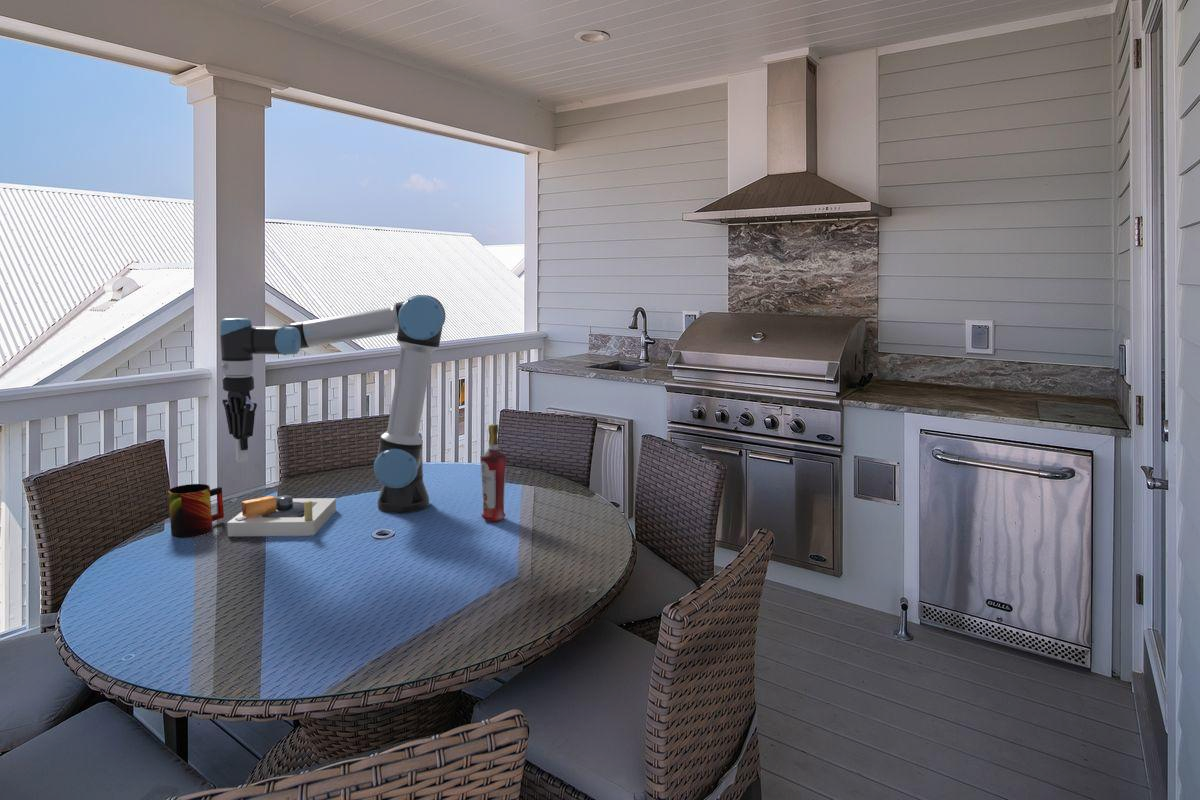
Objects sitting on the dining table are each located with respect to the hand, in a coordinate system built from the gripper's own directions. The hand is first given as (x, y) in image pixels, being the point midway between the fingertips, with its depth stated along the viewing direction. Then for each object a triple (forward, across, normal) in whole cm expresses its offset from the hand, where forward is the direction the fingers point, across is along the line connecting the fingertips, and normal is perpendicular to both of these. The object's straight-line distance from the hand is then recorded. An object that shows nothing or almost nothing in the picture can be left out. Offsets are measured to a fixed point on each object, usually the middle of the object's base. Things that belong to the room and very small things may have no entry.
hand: (242, 461), depth 196 cm
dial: (+16, +7, +5) cm, 18 cm away
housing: (+18, +7, +8) cm, 21 cm away
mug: (+19, -7, -10) cm, 22 cm away
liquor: (+18, +52, +45) cm, 71 cm away
